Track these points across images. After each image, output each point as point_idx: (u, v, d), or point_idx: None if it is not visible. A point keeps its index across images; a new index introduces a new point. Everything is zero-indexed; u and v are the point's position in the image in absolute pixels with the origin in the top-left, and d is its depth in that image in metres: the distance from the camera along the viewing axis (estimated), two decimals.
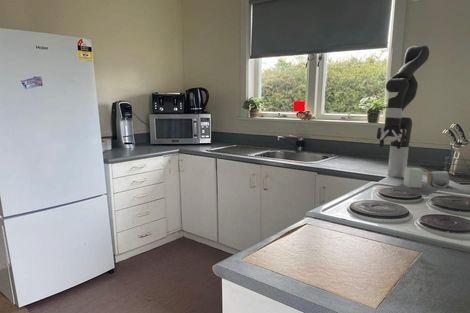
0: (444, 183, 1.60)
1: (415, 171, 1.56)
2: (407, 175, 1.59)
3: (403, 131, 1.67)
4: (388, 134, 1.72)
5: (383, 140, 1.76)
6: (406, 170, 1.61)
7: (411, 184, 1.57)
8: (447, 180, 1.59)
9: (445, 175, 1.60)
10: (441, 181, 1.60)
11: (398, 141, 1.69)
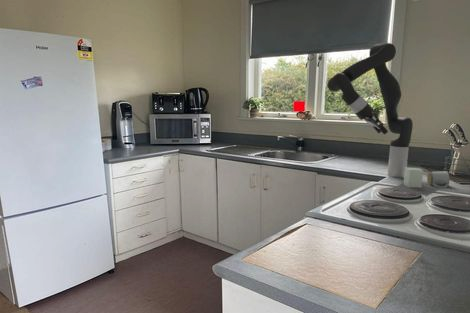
0: (444, 183, 1.60)
1: (415, 171, 1.56)
2: (407, 175, 1.59)
3: (372, 120, 1.51)
4: (370, 123, 1.59)
5: None
6: (406, 170, 1.61)
7: (411, 184, 1.57)
8: (447, 180, 1.59)
9: (445, 175, 1.60)
10: (441, 181, 1.60)
11: (379, 128, 1.53)
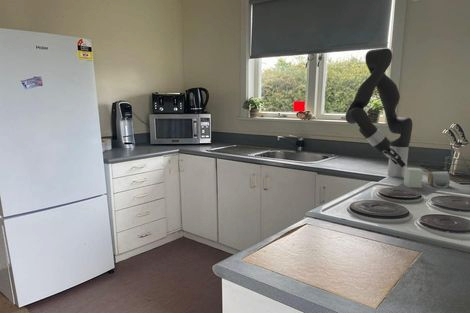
0: (445, 183, 1.59)
1: (415, 171, 1.56)
2: (407, 175, 1.59)
3: (390, 154, 1.53)
4: None
5: None
6: (406, 170, 1.61)
7: (411, 184, 1.57)
8: (448, 180, 1.58)
9: (446, 175, 1.59)
10: (442, 181, 1.59)
11: None
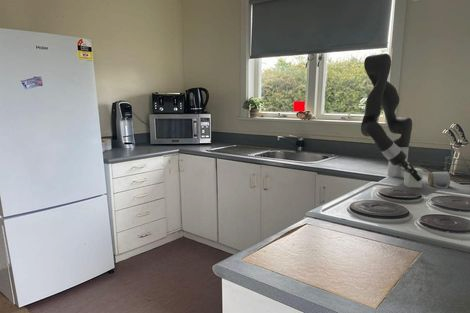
0: (445, 184, 1.59)
1: None
2: (407, 175, 1.59)
3: (407, 169, 1.54)
4: None
5: None
6: None
7: (411, 184, 1.57)
8: (448, 181, 1.58)
9: (446, 176, 1.58)
10: (442, 182, 1.59)
11: None
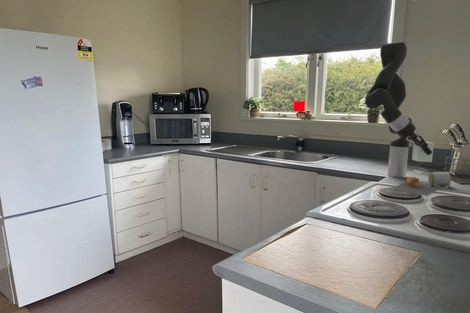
0: (445, 184, 1.58)
1: None
2: (416, 149, 1.47)
3: (416, 141, 1.41)
4: (412, 141, 1.48)
5: None
6: None
7: (421, 158, 1.45)
8: (448, 181, 1.57)
9: (446, 176, 1.58)
10: (442, 182, 1.58)
11: None
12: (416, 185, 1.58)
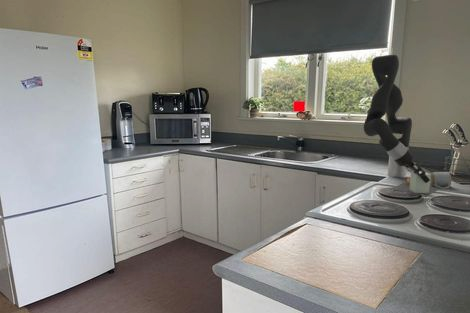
0: (446, 184, 1.58)
1: None
2: (413, 180, 1.49)
3: (413, 169, 1.43)
4: None
5: None
6: (412, 174, 1.51)
7: (418, 189, 1.47)
8: (449, 181, 1.57)
9: (447, 176, 1.58)
10: (443, 182, 1.58)
11: None
12: None
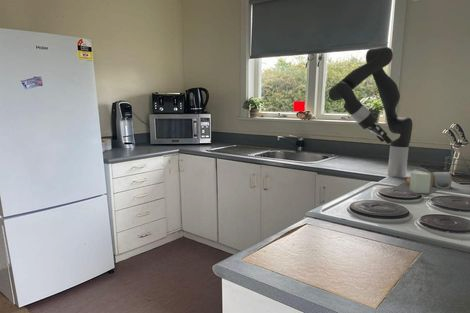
0: (446, 184, 1.58)
1: (422, 176, 1.46)
2: (413, 180, 1.49)
3: (375, 130, 1.48)
4: None
5: None
6: (412, 174, 1.51)
7: (418, 189, 1.47)
8: (449, 181, 1.57)
9: (447, 176, 1.58)
10: (443, 182, 1.58)
11: None
12: None
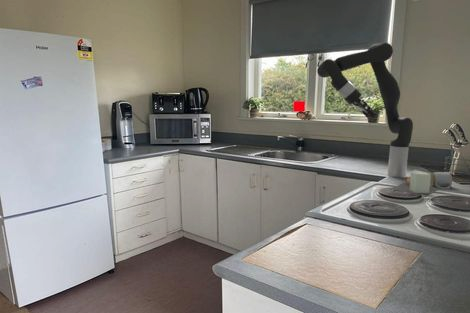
0: (447, 184, 1.58)
1: (422, 176, 1.46)
2: (413, 180, 1.49)
3: (360, 104, 1.57)
4: (359, 107, 1.64)
5: None
6: (412, 174, 1.51)
7: (418, 189, 1.47)
8: (450, 181, 1.57)
9: (448, 176, 1.57)
10: (444, 182, 1.58)
11: None
12: None
